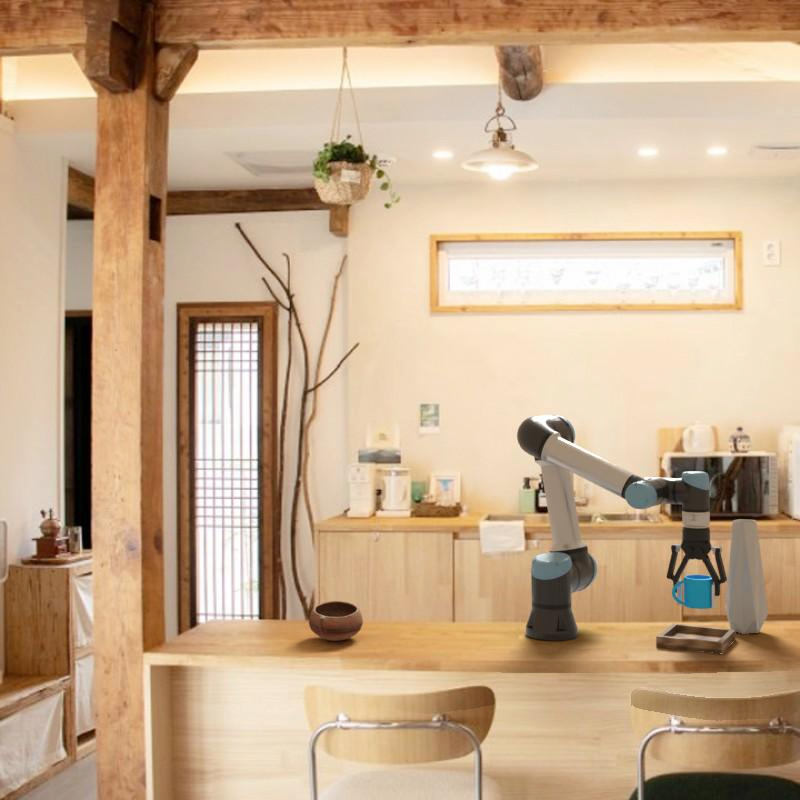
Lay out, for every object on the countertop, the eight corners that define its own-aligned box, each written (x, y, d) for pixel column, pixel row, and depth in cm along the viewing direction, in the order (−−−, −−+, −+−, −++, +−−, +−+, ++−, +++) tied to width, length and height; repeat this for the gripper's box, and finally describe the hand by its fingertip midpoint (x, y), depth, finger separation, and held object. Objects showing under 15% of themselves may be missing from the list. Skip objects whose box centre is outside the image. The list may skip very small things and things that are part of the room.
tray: (656, 646, 297) (656, 636, 297) (672, 633, 313) (672, 623, 313) (722, 654, 288) (722, 643, 288) (735, 640, 304) (735, 629, 304)
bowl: (312, 647, 300) (312, 612, 300) (306, 634, 315) (305, 600, 315) (367, 644, 303) (367, 609, 303) (358, 631, 318) (357, 598, 318)
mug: (707, 602, 305) (707, 574, 305) (718, 608, 297) (718, 579, 297) (667, 604, 304) (666, 575, 304) (677, 609, 296) (676, 580, 296)
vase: (771, 637, 307) (771, 523, 307) (730, 636, 309) (729, 523, 309) (764, 627, 319) (763, 518, 319) (724, 626, 321) (723, 517, 321)
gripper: (654, 525, 302) (655, 604, 302) (732, 530, 291) (733, 611, 292) (661, 522, 309) (662, 599, 309) (738, 526, 298) (738, 606, 298)
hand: (696, 605), depth 300 cm, fingers closed on mug, 9 cm apart
